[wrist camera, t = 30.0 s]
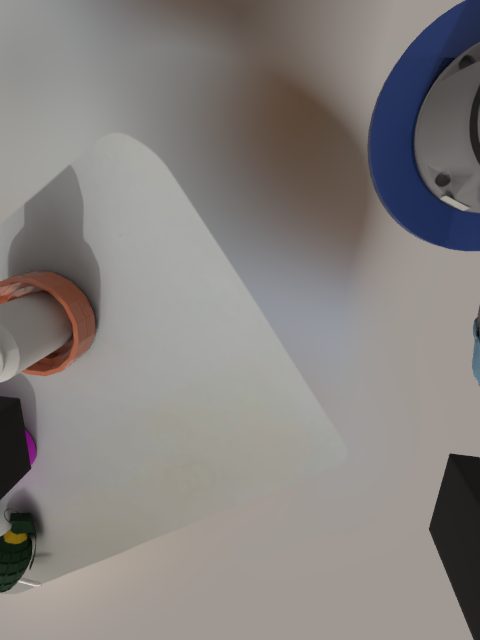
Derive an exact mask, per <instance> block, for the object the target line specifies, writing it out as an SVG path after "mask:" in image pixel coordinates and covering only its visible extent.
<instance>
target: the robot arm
mask: <svg viewBox="0 0 480 640" xmlns="http://www.w3.org/2000/svg"><path fill="white" fill-rule="evenodd" d="M411 151H412V159H413V163H414V167H415V170H416V173H417V175H418V177H419V179H420V181H421V183H422V184H423V186H424V187H425V188H426V190H427V191H428V192H429V193H430V194H431V195H432V196H433V197H434V198H435V199H437V200H438V201H440V202H441V203H443V204H444V205H446V206H448V207H451V208H453V209H456V210H459V211H463V212H468V213H479V214H480V42H479V43H477V44H475V45H473V46H472V47H470V48H469V49H467V50H466V51H465V52H463V53H462V54H461V55H460V56H458V57H457V58H456V59H455V60H454V61H453V62H452V63H450V64H449V65H448V66H447V67H446V68H445V69H444V70H443V71H442V72H441V73H440V75H439V76H438V77H437V78H436V79H435V81H434V82H433V83H432V85H431V86H430V87H429V89H428V91H427V92H426V94H425V96H424V98H423V100H422V101H421V103H420V106H419V108H418V111H417V114H416V117H415V120H414V124H413V129H412V137H411ZM473 334H474V337H475V344H474V353H473V361H472V368H473V373H474V376H475V378H476V379H477V381H478V383H479V386H480V307H479V312H478V317H477V318H476V319H475V321H474V326H473ZM30 469H31V463H30V457H29V451H28V445H27V439H26V433H25V427H24V421H23V415H22V409H21V403H20V399H18V398H10V397H2V396H0V500H1V499H2V498H3V497H4V496H5V495H6V494H7V493H8V492H9V491H10V490H11V489H12V488H13V487H14V486H15V484H16V483H17V482H18V481H19V480H20V479H21V478H22V477H23V476H24V475H25V474H26V473H27V472H28V471H29V470H30ZM429 531H430V533H431V535H432V538H433V541H434V543H435V545H436V548H437V550H438V553H439V555H440V558H441V560H442V563H443V565H444V567H445V570H446V573H447V575H448V577H449V580H450V582H451V585H452V587H453V590H454V592H455V595H456V597H457V600H458V602H459V604H460V607H461V609H462V612H463V614H464V617H465V619H466V622H467V624H468V627H469V629H470V632H471V634H472V637H473V639H474V640H480V458H479V457H473V456H465V455H457V454H450V455H449V458H448V462H447V465H446V469H445V473H444V477H443V480H442V483H441V487H440V491H439V495H438V498H437V502H436V505H435V509H434V512H433V516H432V520H431V523H430V527H429Z"/></svg>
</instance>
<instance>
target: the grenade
mask: <svg viewBox="0 0 480 640" xmlns="http://www.w3.org/2000/svg"><path fill="white" fill-rule="evenodd" d="M6 510H9V509H6ZM6 510H5V511H6ZM10 510H14V509H10ZM5 511H4V517H5ZM14 511H16V510H14ZM16 512H17V511H16ZM5 519H6V517H5ZM6 520H7V519H6ZM7 521H8V520H7ZM8 522H9V521H8ZM9 523H11V524H12V527H11V529H10V530H9V531H8V532H7V533H6V534H4V535H3V536H1V537H0V592H1V593H2V592H5V591H7V590H9V589H11V588H12V587H13V586H14V585H15V584H16V583H17V582H18V581H19V580H20V578H21V577H22V575H23V574H24V572H25V570H26V568H27V567H28V565H29V563H30V560H31V555H32V540H31V538H29V536H28V535H27V533H32V532H34V535H35V541H36V529H35V526H34V523H33V520H32V517H31V513H18V512H17V513H11V516H10V522H9ZM35 551H36V544H35ZM35 551H34V555H33V559H32V561H31V564H30V569H31V567H32V564H33V561H34V557H35Z"/></svg>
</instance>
